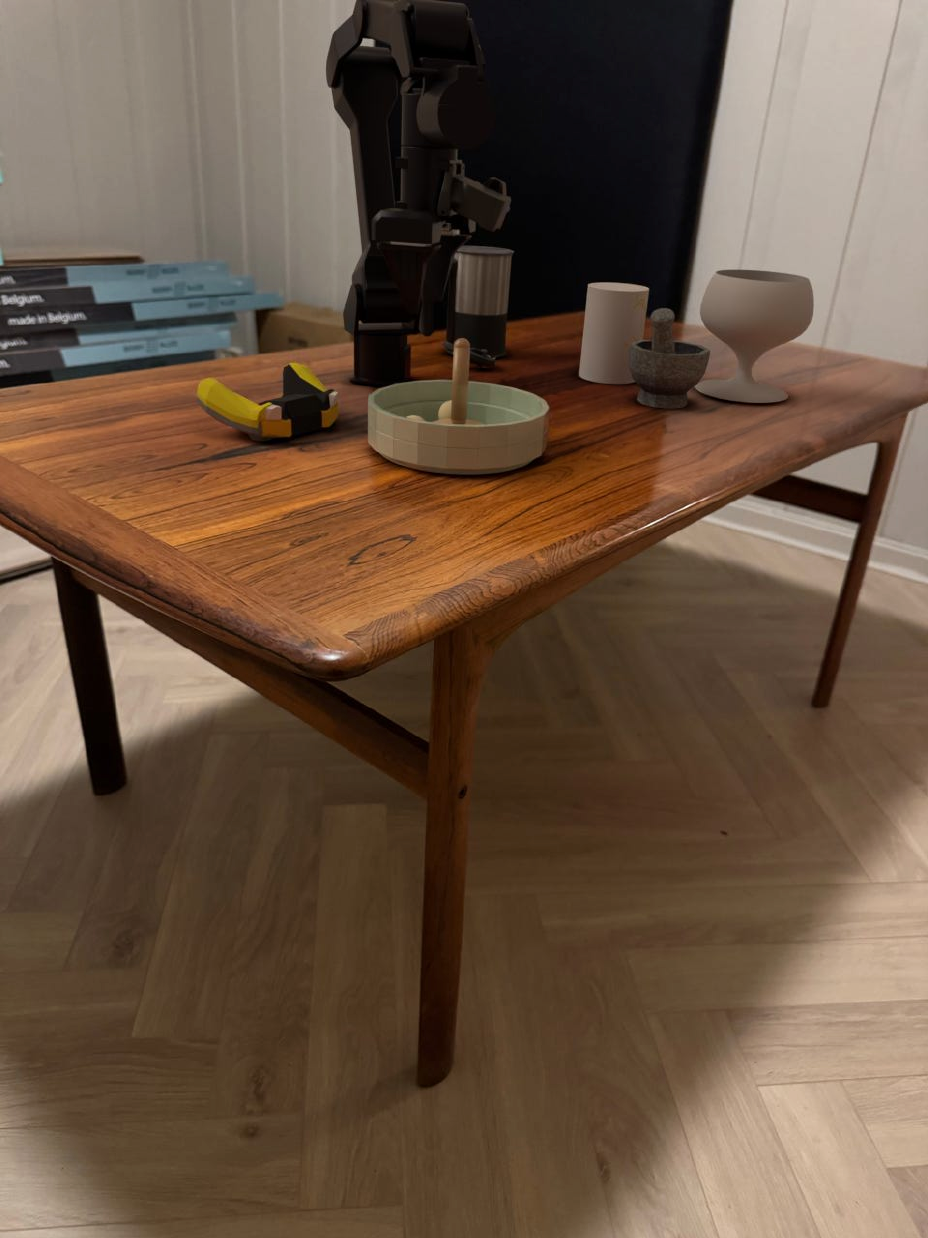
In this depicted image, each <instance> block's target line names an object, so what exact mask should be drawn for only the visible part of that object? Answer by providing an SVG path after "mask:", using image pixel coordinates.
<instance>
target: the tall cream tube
mask: <svg viewBox="0 0 928 1238" xmlns="http://www.w3.org/2000/svg"><path fill="white" fill-rule="evenodd" d="M649 294H650V288H649V287H647V286H644V285H640V284H639V285H638V284H634V283H623V282H591V283H588V284H587V291H586V302H585V311H584V320H583V330H582V340H581V350H580V360H579V369H578V377H579V378H581V379H583V380H585V381H589V382H592V383H598V384H604V385H605V384H606V385H628V384H633V383H636V382H635V381H634V379H633V377H632V375H631V372H630V369H629V357H628V354H629V346H630V344H631V343H633V342H635V341H638V340H644V332H645V326H646V325H645V324H646V317H647V309H648V301H649Z"/></svg>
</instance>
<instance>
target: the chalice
mask: <svg viewBox="0 0 928 1238" xmlns="http://www.w3.org/2000/svg"><path fill="white" fill-rule="evenodd" d="M814 299H815V298H814V291H813V287H812V282H811V280H810V278H808V277H806V276H802V275H798V274H794V273H793V274H792V273H786V272H778V271H770V270H759V269H758V270H757V269H755V270H754V269H721V270H717V271H715V273H713V275H712V276H711V278H710V279H709V282H708V284H707V286H706V288H705V290H704V293H703V296H702V299H701V301H700V302H701V303H700V307H699V315H700V316H699V317H700V320H701V322H702V324H703V326H704V327H705V329H706V330H707V331H708V332H710V333H711V334H712V335H714V336H715V337H716V338H718V339H719V340H720V341H722V342H723V343H724V344H725V345H726V346H727V347H729V348H730V349H731V350H732V352H733V353H734V354H735V357H736V359H737V364H738V367H737V370H736V373H735V374H734V375H733V376H732V377H730V378H712V379H711V378H710V379H706V380H700V381H699V382H698V384H697V385H695V386H694V388H695V390H697V391H698V392H699V393H702V394H703V395H706V396H709V397H713V398H716V399H720V400H725V401H730V402H736V403H737V402H739V403H748V404H769V403H778V402H782V401H785V400H787V399H788V397H789V395H788V394H787V392H786V391H785V390H783V389H782V388H780V387H777V386H774V385H771V384H767V383H764V382H760V381H756V380H755V378H754V376H753V367H754V365H755V363H756V361H758V359H759V358H760V357H761V356H763V355H765V354H766V353H767V352H769V351H771V350H774V349H775V348H777V347H780V346H782V345H784V344H787V343H789V342H791V341H794V340H796V339H797V338H799V337H800V336H802V335H803V334H804V333H805V332H806V331H807V330H808V328H809V327H810V325H811V323H812V320H813V316H814V308H815V307H814V306H815V304H814V303H815V300H814Z"/></svg>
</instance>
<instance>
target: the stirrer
mask: <svg viewBox="0 0 928 1238" xmlns="http://www.w3.org/2000/svg"><path fill="white" fill-rule="evenodd" d="M452 356H453V357H452V358H453V359H452V379H451V380H452V403H451V419H441V420H436V421H433V422H436V423H444V424H466V425H485V424H483V423H480V422H477V421H473V420H468V419H467V399H468V381H469V377H470V376H469V375H470V362H469V357H470V344H469V342H468V340H466V339H464V338H459V339H457V340H456V341H455V343H454V353H453V355H452Z"/></svg>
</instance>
